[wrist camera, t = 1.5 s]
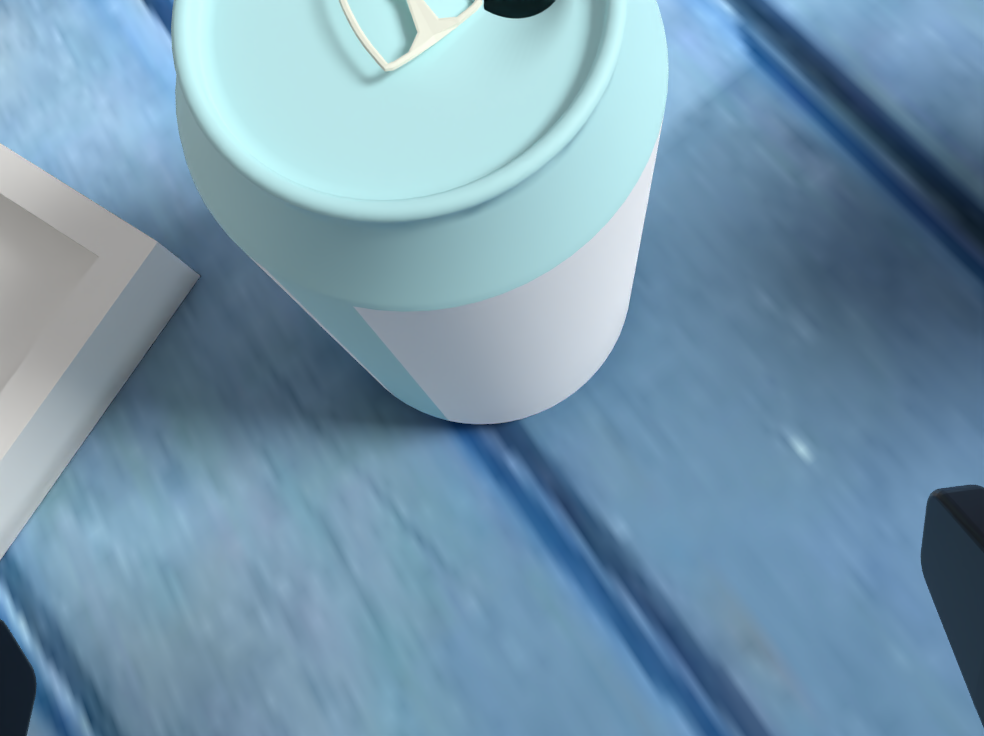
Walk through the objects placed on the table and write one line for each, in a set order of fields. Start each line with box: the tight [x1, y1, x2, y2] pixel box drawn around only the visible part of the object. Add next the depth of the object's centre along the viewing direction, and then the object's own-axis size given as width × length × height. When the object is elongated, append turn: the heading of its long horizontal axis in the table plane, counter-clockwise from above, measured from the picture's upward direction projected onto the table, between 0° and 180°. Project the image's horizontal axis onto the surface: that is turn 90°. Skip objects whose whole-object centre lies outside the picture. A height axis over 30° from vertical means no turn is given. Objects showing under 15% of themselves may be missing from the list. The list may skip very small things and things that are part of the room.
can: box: [171, 0, 669, 424], centre depth 17 cm, size 7×7×12 cm
